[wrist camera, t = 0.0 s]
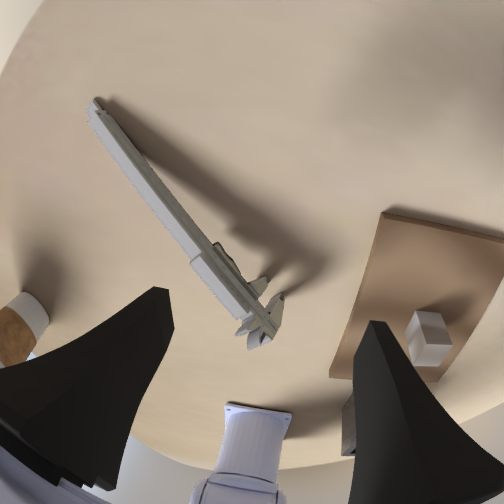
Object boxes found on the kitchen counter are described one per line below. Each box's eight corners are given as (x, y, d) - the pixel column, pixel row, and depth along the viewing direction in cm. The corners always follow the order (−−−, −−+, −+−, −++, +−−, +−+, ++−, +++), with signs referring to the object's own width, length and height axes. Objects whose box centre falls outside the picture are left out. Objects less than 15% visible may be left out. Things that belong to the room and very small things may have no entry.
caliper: (286, 294, 22) (277, 357, 17) (275, 300, 23) (263, 363, 18) (96, 98, 17) (33, 111, 12) (89, 109, 17) (26, 125, 12)
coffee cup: (63, 341, 33) (7, 421, 21) (24, 319, 34) (-30, 387, 21) (47, 296, 29) (-26, 384, 16) (8, 275, 29) (-60, 347, 17)
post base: (434, 371, 25) (443, 409, 21) (329, 365, 26) (328, 409, 22) (507, 237, 17) (539, 272, 12) (379, 209, 18) (398, 246, 14)
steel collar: (381, 411, 29) (384, 455, 24) (342, 410, 29) (341, 455, 24) (398, 389, 26) (404, 437, 21) (355, 387, 27) (357, 438, 22)
